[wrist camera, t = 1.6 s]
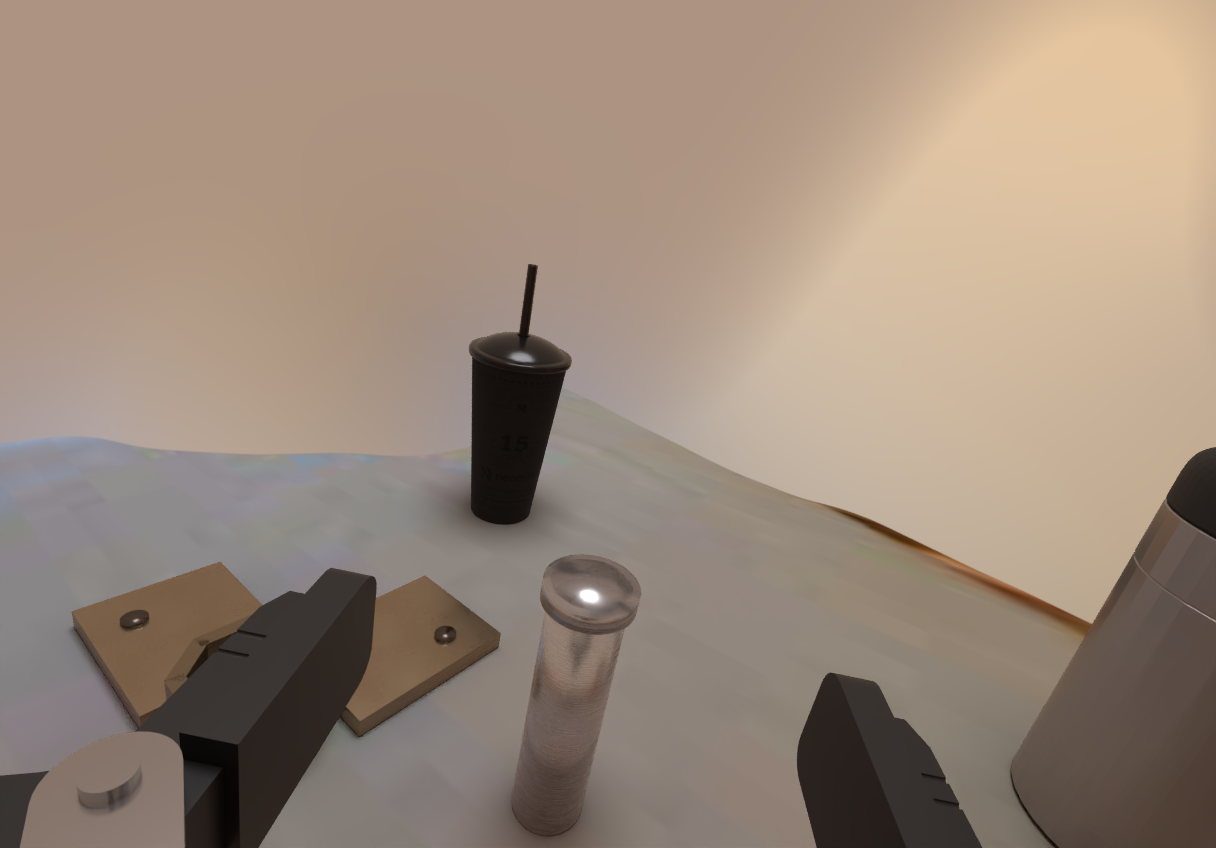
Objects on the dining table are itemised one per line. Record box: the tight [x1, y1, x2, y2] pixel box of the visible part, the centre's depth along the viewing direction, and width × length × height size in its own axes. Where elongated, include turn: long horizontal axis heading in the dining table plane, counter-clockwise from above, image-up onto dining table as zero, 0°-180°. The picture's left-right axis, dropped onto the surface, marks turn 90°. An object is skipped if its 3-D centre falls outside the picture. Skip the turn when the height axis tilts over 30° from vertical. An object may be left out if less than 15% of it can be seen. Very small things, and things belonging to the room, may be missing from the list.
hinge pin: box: [512, 555, 641, 836], centre depth 25 cm, size 4×4×12 cm
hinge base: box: [72, 562, 501, 737], centre depth 33 cm, size 16×16×4 cm
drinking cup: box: [469, 264, 572, 524], centre depth 47 cm, size 8×8×20 cm
